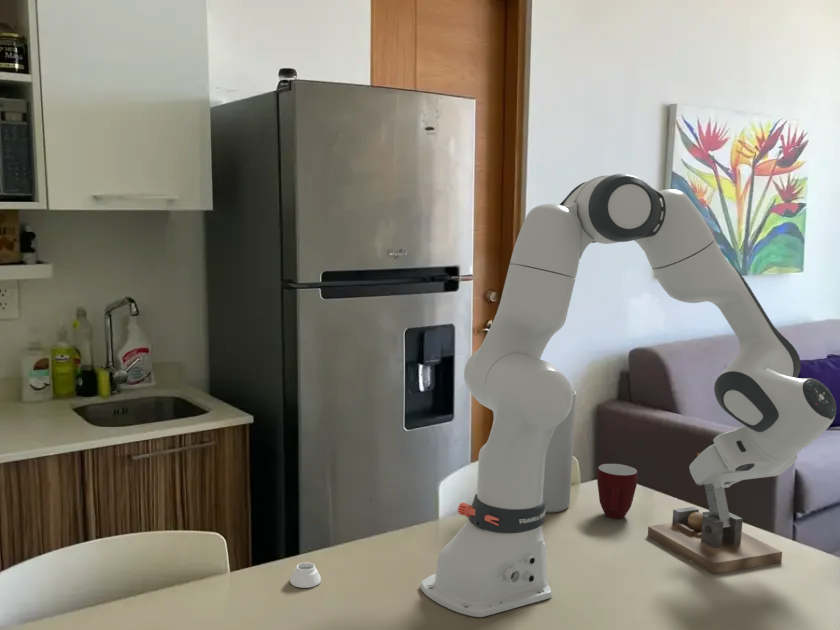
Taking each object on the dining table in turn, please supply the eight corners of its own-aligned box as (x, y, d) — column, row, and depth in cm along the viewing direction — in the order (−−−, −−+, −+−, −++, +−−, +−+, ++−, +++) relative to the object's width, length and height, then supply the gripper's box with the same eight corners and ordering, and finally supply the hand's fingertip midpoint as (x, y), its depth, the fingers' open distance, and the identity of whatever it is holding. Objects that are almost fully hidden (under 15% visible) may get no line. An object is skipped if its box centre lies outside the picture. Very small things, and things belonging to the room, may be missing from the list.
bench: (713, 574, 142) (716, 536, 141) (647, 536, 159) (650, 501, 158) (781, 562, 148) (784, 525, 147) (711, 526, 165) (714, 493, 164)
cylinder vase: (509, 511, 170) (515, 394, 167) (512, 491, 182) (518, 382, 179) (570, 516, 168) (576, 398, 165) (569, 496, 180) (575, 386, 177)
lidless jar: (285, 588, 132) (315, 591, 131) (286, 570, 131) (315, 574, 130) (296, 575, 136) (324, 578, 136) (296, 558, 136) (324, 561, 135)
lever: (721, 528, 149) (706, 451, 152) (704, 528, 153) (690, 454, 156) (733, 526, 150) (718, 450, 153) (715, 526, 154) (701, 453, 158)
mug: (637, 528, 162) (640, 480, 161) (596, 525, 163) (599, 477, 162) (632, 510, 173) (635, 465, 171) (594, 507, 174) (596, 462, 173)
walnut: (700, 534, 155) (701, 517, 154) (683, 529, 157) (685, 512, 157) (709, 530, 157) (710, 513, 157) (692, 525, 160) (694, 508, 159)
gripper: (798, 427, 147) (753, 465, 157) (709, 435, 139) (668, 474, 149) (816, 457, 143) (770, 494, 153) (726, 467, 136) (683, 505, 146)
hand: (719, 484), depth 151 cm, fingers closed, pressing on lever
